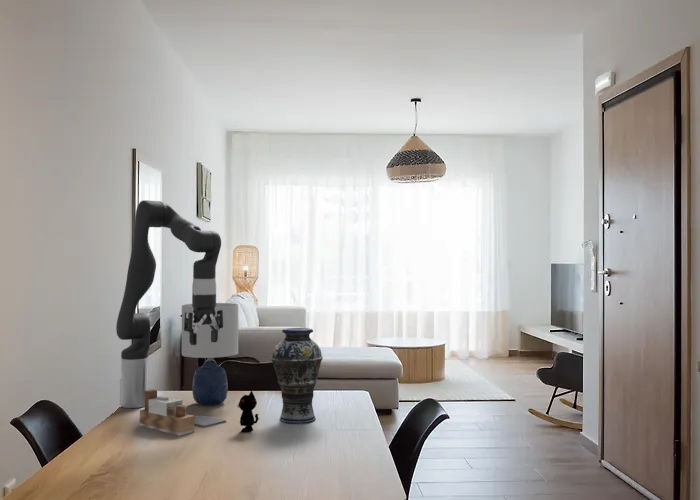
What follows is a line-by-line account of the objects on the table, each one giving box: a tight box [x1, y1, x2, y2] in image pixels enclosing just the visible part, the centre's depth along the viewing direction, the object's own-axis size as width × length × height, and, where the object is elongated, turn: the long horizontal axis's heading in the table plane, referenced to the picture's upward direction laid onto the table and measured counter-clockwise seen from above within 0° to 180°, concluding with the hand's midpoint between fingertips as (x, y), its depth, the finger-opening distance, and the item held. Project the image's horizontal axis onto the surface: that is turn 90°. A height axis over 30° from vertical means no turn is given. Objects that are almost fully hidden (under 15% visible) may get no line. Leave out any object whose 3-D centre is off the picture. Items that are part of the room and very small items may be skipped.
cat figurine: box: [236, 389, 260, 434], centre depth 215 cm, size 7×7×12 cm
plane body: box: [139, 389, 195, 437], centre depth 218 cm, size 20×6×11 cm, turn 52°
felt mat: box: [194, 415, 227, 428], centre depth 227 cm, size 12×9×1 cm
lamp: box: [181, 302, 239, 406], centre depth 255 cm, size 20×20×37 cm
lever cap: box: [149, 395, 183, 416], centre depth 218 cm, size 9×6×5 cm, turn 52°
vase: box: [270, 326, 323, 425], centre depth 230 cm, size 17×17×30 cm
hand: (203, 343), depth 223 cm, fingers open, 8 cm apart
